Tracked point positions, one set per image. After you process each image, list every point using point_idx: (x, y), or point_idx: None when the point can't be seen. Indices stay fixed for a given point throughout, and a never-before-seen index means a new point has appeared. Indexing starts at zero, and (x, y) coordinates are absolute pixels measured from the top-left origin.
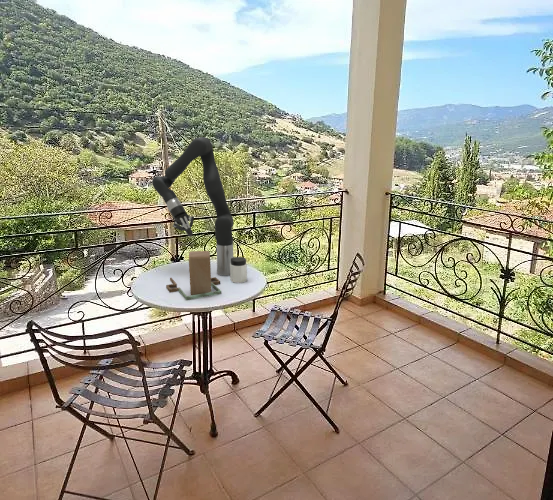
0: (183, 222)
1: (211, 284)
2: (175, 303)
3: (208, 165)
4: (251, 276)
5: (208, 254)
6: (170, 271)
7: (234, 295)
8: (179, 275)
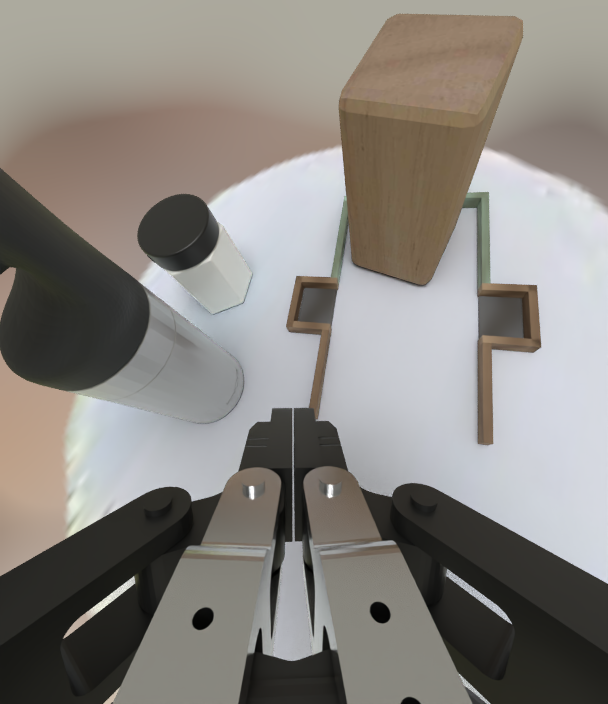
0: (381, 654)
1: (339, 273)
2: (531, 194)
3: None
4: (162, 298)
5: (382, 32)
6: None
7: (315, 181)
8: None
